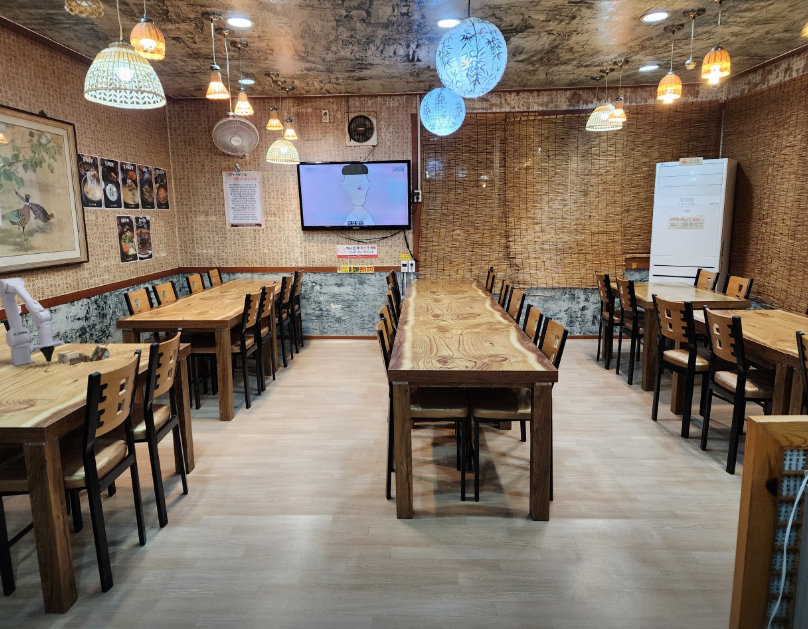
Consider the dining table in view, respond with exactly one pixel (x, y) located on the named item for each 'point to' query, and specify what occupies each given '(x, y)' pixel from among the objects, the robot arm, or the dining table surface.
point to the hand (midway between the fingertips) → (48, 361)
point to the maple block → (67, 356)
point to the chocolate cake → (100, 353)
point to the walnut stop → (79, 359)
